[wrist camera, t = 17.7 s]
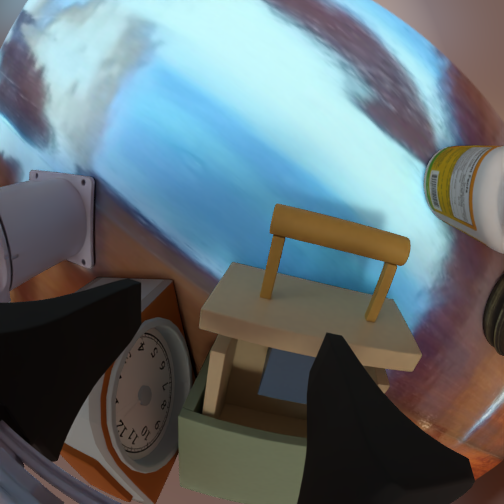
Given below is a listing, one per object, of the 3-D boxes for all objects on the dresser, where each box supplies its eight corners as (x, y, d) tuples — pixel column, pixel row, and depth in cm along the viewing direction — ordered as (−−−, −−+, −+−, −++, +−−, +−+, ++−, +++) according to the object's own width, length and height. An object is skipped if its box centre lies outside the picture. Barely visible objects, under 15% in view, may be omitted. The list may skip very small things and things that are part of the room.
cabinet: (213, 343, 22) (177, 415, 15) (358, 374, 21) (369, 452, 13) (201, 432, 27) (179, 486, 20) (305, 454, 26) (300, 511, 18)
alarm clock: (207, 409, 25) (162, 518, 13) (138, 395, 27) (81, 482, 14) (177, 279, 21) (59, 405, 8) (95, 277, 22) (-16, 358, 10)
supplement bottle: (490, 186, 14) (583, 216, 5) (451, 238, 16) (535, 299, 7) (450, 130, 14) (547, 122, 5) (407, 184, 16) (496, 214, 7)
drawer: (245, 186, 17) (214, 202, 11) (418, 231, 16) (465, 267, 10) (210, 394, 23) (189, 446, 17) (329, 419, 22) (329, 474, 16)
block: (266, 355, 19) (257, 394, 16) (279, 309, 18) (272, 347, 14) (319, 366, 19) (319, 406, 15) (337, 322, 17) (343, 361, 14)
